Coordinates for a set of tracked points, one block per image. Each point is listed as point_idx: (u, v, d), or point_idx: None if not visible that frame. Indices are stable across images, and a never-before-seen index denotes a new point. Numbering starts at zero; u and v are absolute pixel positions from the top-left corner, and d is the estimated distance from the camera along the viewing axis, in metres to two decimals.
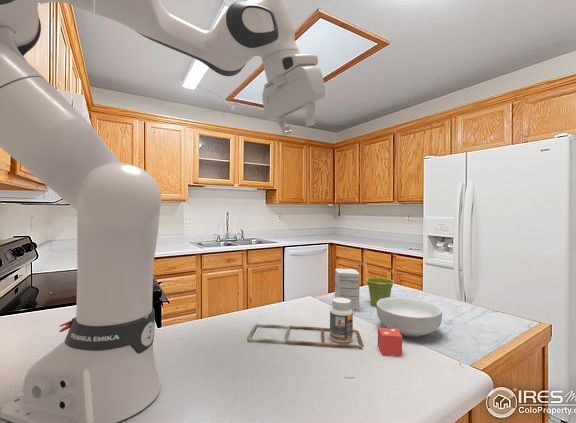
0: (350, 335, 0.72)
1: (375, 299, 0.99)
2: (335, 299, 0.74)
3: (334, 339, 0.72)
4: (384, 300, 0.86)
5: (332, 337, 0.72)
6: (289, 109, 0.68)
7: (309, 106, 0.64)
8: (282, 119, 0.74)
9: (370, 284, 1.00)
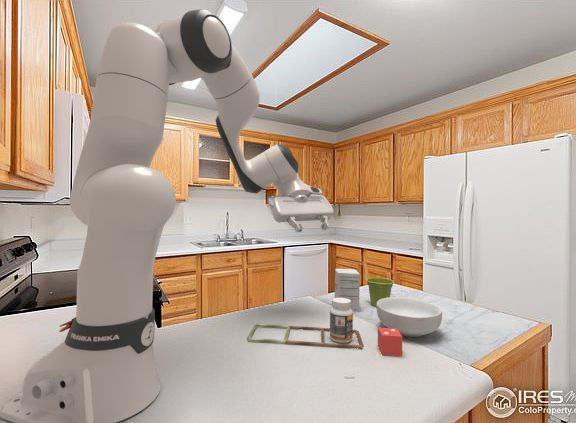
0: (350, 335, 0.72)
1: (375, 299, 0.99)
2: (335, 299, 0.74)
3: (334, 339, 0.72)
4: (384, 300, 0.86)
5: (332, 337, 0.72)
6: (310, 213, 0.86)
7: None
8: None
9: (370, 284, 1.00)
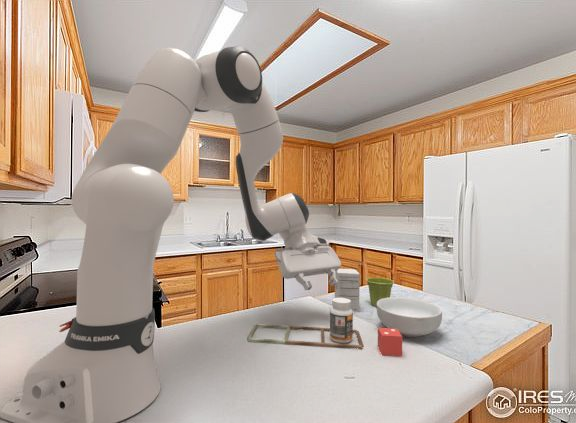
0: (350, 335, 0.72)
1: (375, 299, 0.99)
2: (335, 299, 0.74)
3: (334, 339, 0.72)
4: (384, 300, 0.86)
5: (332, 337, 0.72)
6: (319, 267, 0.82)
7: None
8: None
9: (370, 284, 1.00)
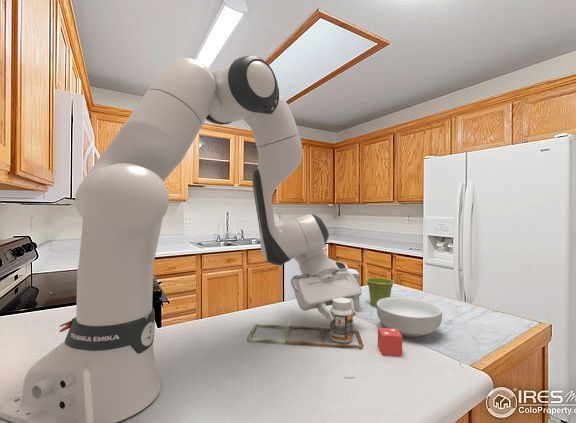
0: (350, 335, 0.72)
1: (375, 299, 0.99)
2: (335, 299, 0.74)
3: (334, 339, 0.72)
4: (384, 300, 0.86)
5: (332, 337, 0.72)
6: (339, 297, 0.76)
7: None
8: None
9: (370, 284, 1.00)
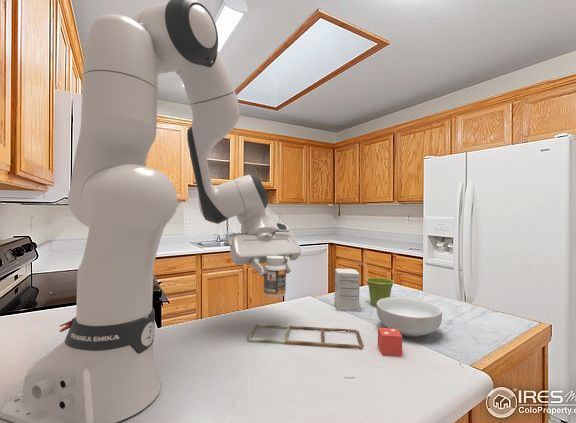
0: (281, 290, 0.73)
1: (375, 299, 0.99)
2: (269, 256, 0.76)
3: (266, 294, 0.73)
4: (384, 300, 0.86)
5: (264, 292, 0.74)
6: (274, 254, 0.77)
7: None
8: None
9: (370, 284, 1.00)
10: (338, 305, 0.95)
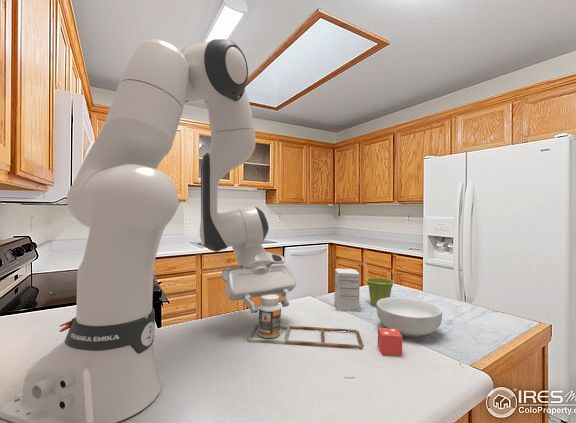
0: (276, 330, 0.74)
1: (375, 299, 0.99)
2: (264, 295, 0.76)
3: (261, 334, 0.74)
4: (384, 300, 0.86)
5: (259, 332, 0.74)
6: (269, 288, 0.77)
7: None
8: None
9: (370, 284, 1.00)
10: (338, 305, 0.95)
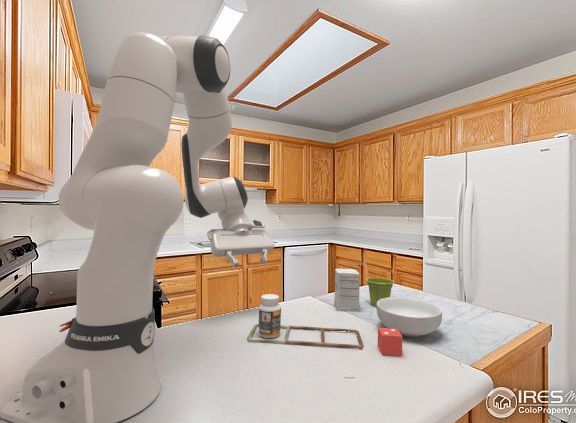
0: (276, 330, 0.74)
1: (375, 299, 0.99)
2: (264, 295, 0.76)
3: (261, 334, 0.74)
4: (384, 300, 0.86)
5: (259, 332, 0.74)
6: (249, 247, 0.88)
7: None
8: None
9: (370, 284, 1.00)
10: (338, 305, 0.95)
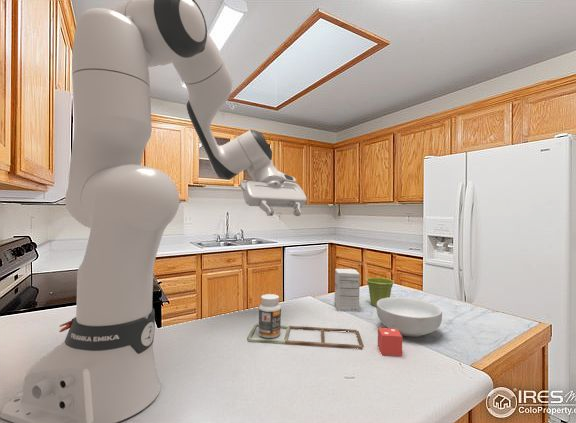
0: (276, 330, 0.74)
1: (375, 299, 0.99)
2: (264, 295, 0.76)
3: (261, 334, 0.74)
4: (384, 300, 0.86)
5: (259, 332, 0.74)
6: (283, 198, 0.85)
7: None
8: None
9: (370, 284, 1.00)
10: (338, 305, 0.95)
